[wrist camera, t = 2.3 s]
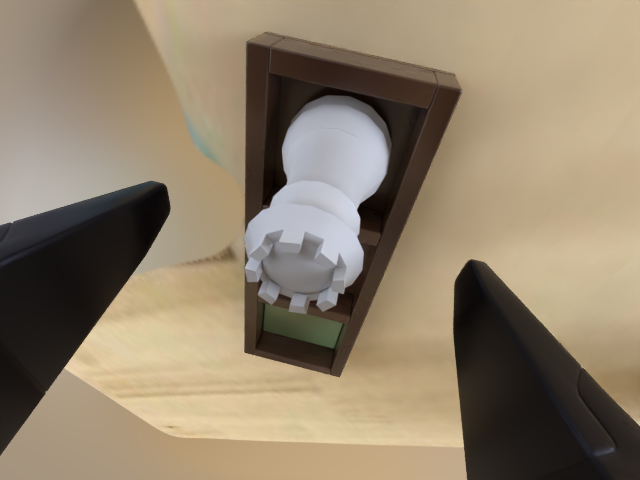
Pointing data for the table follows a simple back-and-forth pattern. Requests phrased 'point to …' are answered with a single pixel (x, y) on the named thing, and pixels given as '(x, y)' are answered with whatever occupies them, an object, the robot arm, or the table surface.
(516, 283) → the table surface
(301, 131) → the rook chess piece
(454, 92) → the tray
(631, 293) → the table surface
